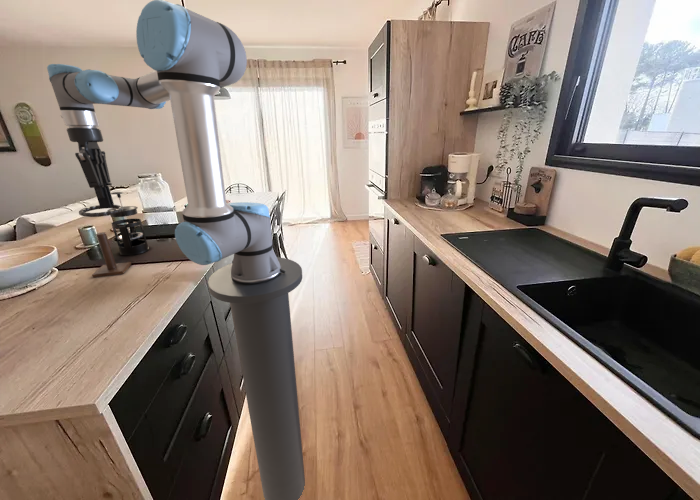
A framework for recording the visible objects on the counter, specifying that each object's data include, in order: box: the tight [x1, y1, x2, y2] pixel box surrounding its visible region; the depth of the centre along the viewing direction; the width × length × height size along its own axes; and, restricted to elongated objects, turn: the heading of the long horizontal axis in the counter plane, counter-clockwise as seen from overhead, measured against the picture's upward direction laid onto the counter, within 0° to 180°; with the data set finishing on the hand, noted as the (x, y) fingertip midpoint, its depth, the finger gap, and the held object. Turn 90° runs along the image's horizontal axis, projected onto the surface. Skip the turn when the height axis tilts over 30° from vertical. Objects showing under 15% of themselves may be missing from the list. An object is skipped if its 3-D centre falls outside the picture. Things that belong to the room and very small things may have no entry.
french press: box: [106, 191, 150, 257], centre depth 107 cm, size 12×9×23 cm
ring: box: [78, 204, 123, 218], centre depth 88 cm, size 10×10×1 cm
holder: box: [91, 231, 132, 278], centre depth 93 cm, size 8×8×13 cm
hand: (107, 207), depth 92 cm, fingers closed on ring, 1 cm apart
